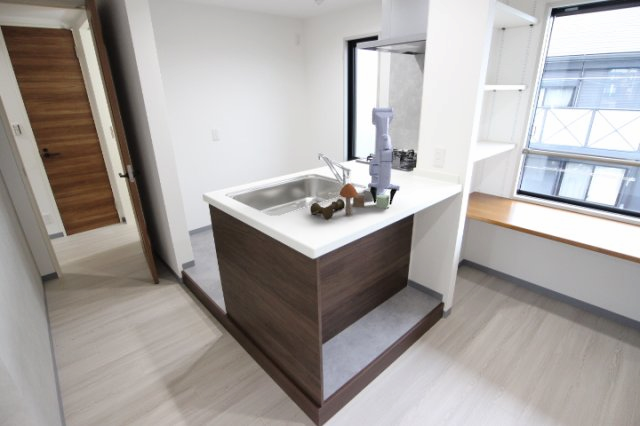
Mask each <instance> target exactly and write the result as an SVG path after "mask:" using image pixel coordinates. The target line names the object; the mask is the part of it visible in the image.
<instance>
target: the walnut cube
mask: <svg viewBox="0 0 640 426" xmlns="http://www.w3.org/2000/svg"><path fill="white" fill-rule="evenodd" d="M357 194H358V195H357V196H356V197H353V198H352V207H353V208H364V207H365V201H366V200H365V194H364V193H357Z"/></svg>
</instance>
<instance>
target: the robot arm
mask: <svg viewBox="0 0 640 426" xmlns="http://www.w3.org/2000/svg"><path fill="white" fill-rule="evenodd" d="M394 115H395V114H394V108H393V107H373V108H372V111H371V124H372V125H373V126H375V130H376V131H375V152H374V155H375V157H374V158H372V159H371V160H370V162H369V168H368V174H369V176H370V177H371V182H368V184H367V189H368V188H370V192H371V194H372V196H373V200H374V201H373V203H374V204H376V202H377V199H376V194H377V195H379V194H381V195H385V193H386V192H387V190H390V191H389V206H391V205H392V204H393V200H394V197H395V195H396V193H397V191H398V192H399V191H400V188H401V186H400V185H396V184H391V177H392V165H393V164H392V163H393V162H394V156H395V153H394V149H393V146H392V137H391V135H389V127H390V126H389V125H390V124H391V123H392V121H393V119H394Z"/></svg>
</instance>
